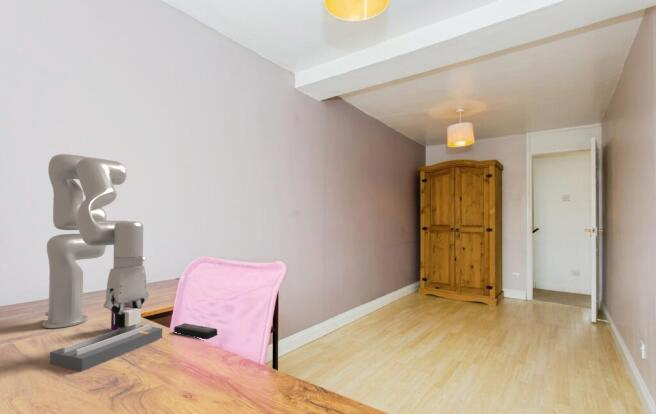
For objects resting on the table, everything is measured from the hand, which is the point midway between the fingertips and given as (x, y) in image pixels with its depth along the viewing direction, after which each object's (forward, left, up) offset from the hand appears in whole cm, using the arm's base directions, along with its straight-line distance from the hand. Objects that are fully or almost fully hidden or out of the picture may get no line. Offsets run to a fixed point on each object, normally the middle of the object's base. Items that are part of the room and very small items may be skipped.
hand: (127, 324), depth 99 cm
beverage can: (-13, +9, -6) cm, 17 cm away
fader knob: (0, 0, -3) cm, 3 cm away
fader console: (0, -5, -6) cm, 8 cm away
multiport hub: (+13, +14, -6) cm, 20 cm away
